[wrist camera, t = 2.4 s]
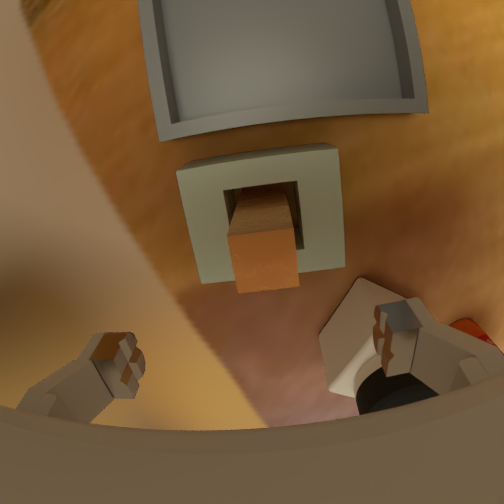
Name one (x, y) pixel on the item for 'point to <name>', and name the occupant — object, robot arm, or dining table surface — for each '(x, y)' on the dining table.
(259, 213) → the pin
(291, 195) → the dining table surface
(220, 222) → the socket block
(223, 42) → the tray
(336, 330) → the medicine bottle
